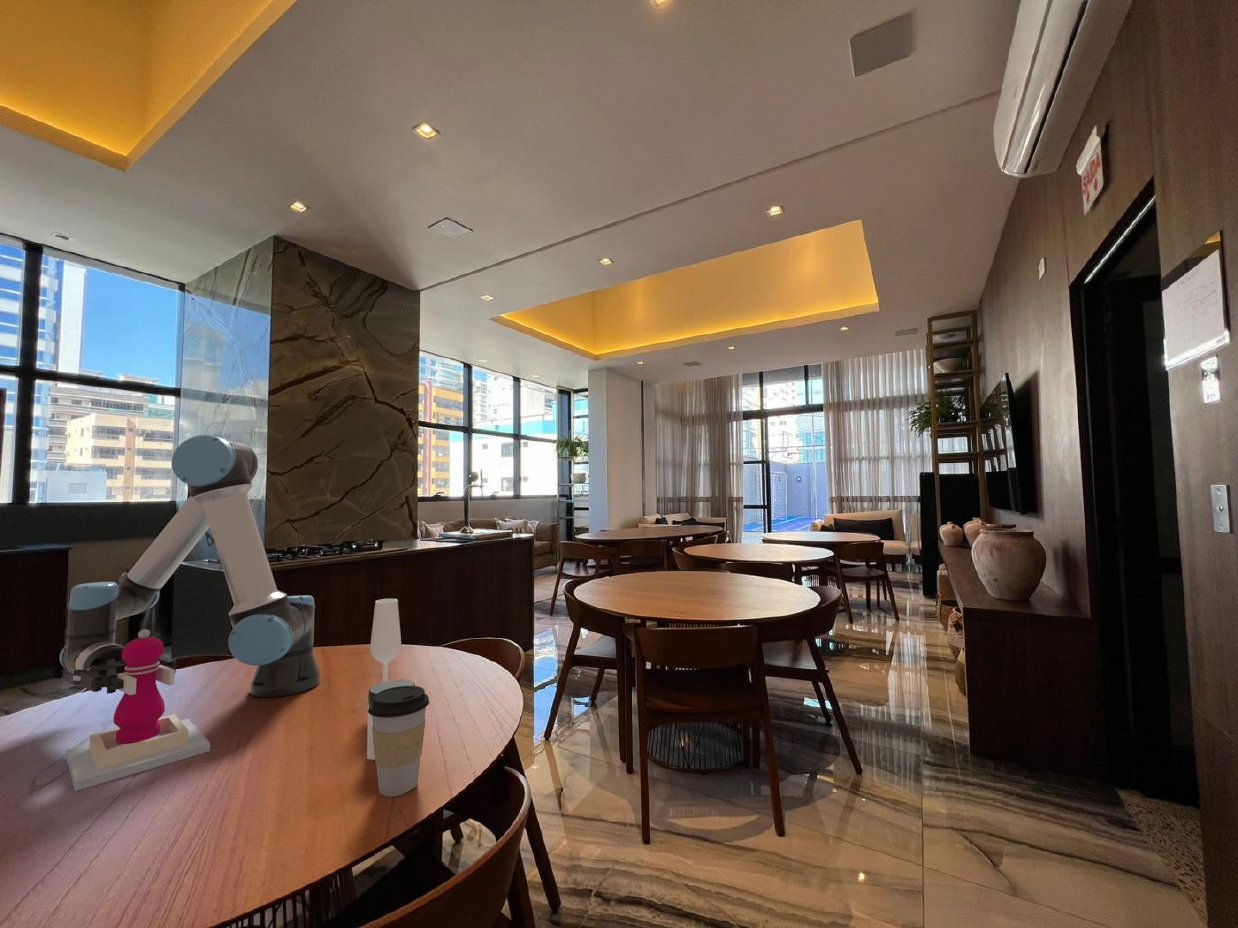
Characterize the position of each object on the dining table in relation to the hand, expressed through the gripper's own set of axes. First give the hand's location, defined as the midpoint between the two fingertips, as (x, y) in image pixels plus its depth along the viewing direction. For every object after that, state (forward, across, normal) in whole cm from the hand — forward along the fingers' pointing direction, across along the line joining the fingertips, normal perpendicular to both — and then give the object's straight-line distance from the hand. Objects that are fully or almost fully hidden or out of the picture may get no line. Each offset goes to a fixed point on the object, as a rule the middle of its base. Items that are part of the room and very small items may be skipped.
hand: (153, 682), depth 98 cm
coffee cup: (+48, -17, -14) cm, 53 cm away
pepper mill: (-5, 0, -11) cm, 12 cm away
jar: (+36, -24, -14) cm, 46 cm away
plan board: (-5, 0, -14) cm, 15 cm away
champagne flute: (+15, -38, -14) cm, 43 cm away
